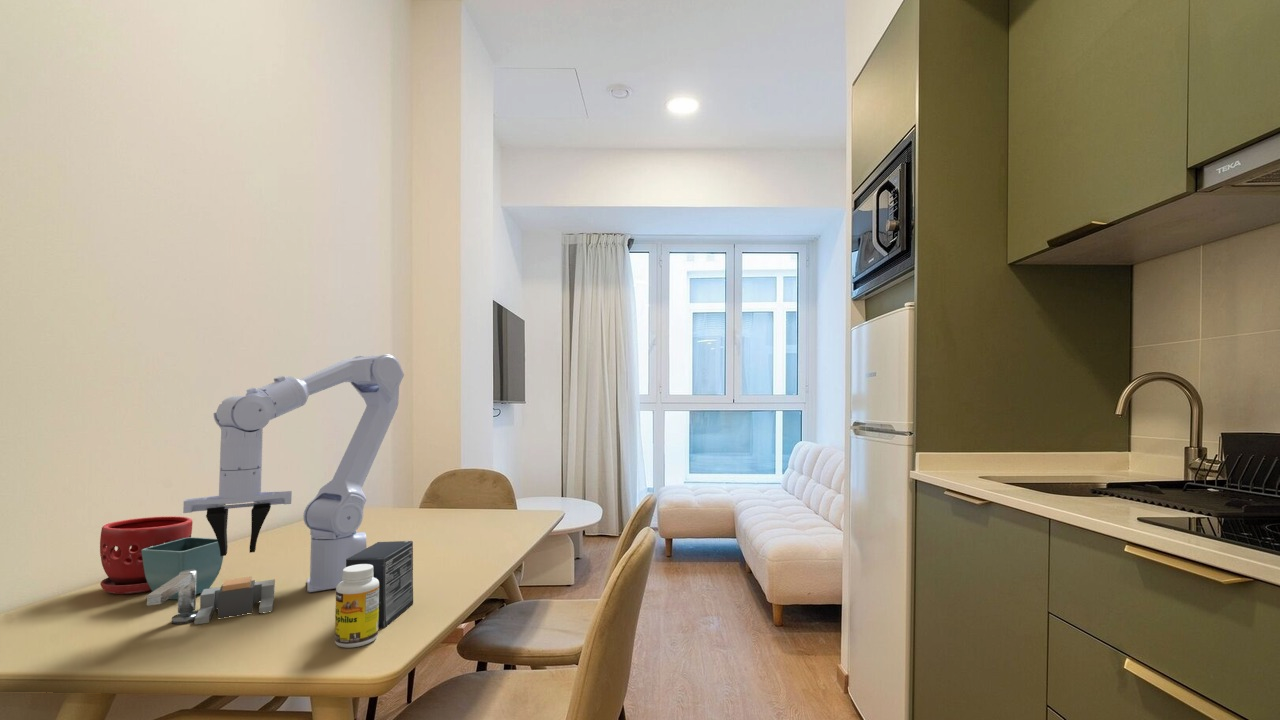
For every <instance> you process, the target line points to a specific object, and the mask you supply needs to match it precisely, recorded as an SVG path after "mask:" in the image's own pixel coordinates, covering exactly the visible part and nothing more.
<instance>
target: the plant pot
mask: <svg viewBox="0 0 1280 720" xmlns="http://www.w3.org/2000/svg"><path fill="white" fill-rule="evenodd" d="M192 533H193V519H192V518H189V517H186V516H153V517H151V516H150V517H141V518H130V519H124V520H123V519H122V520H118V521H113V522H108V523H106V524H104V525H102V527H101V530H100V536H99V537H100V538H99V555H100V561H101V566H102V569H103V571H104V573H105V574H106V576H107V577H106V578H104V579H102V580H101V581H100V583H99V584H100V587H101V588H102V590H104V592H107V593H110V594H117V595H129V594H139V593H145V592H146V593H147V592H152V590H151V588H150V587H149V585H148V583H147V580H146V577H145V572H144V566H143V558H142V551H141V550H142V549H145V548H149V547H153V546H157V545H160V544H164V543H168V542H172V541H176V540H179V539H183V538H188V537H192ZM116 547H117V550H116V549H115V548H116Z"/></svg>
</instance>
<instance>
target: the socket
mask: <svg viewBox="0 0 1280 720" xmlns="http://www.w3.org/2000/svg"><path fill="white" fill-rule="evenodd" d="M275 581H276V579H266V580H260V581H255V591H254V602H259V601H261V602H260V603H259V606H258V614H259V613H263V612H269V611H272V612H273V608H274V602H275V588H276V587H275V585H276V584H275V583H276V582H275ZM220 588H221V586H217V587H210V588H209V589H204V590H203V592H202V593H200V597H199V599H200V601H199V603H200V604H199V605H200V606H199V610H197V611H198V613H197V615H196V617H195V621H194V626H196V625H202V624H208V622H209V623H210V621H211V618H212V616H213V614H214V612H213V611H215V610H218V609H217V608H218V594H219V590H220ZM273 601H274V602H273ZM214 609H215V610H214Z"/></svg>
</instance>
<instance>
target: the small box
mask: <svg viewBox="0 0 1280 720" xmlns="http://www.w3.org/2000/svg"><path fill="white" fill-rule="evenodd" d="M413 544H414V543H413V540H402V541H401V540H399V541H396V540H394V541H378V542H375V543H374V544H371V545H370V546H367V548H366V549H364V550H362V551H361V552H359V553H357V554H355V555H353V556H351V557H349V558H347V559H346V567H348V566H352V565H357V564H370V565H373V573H374V574H373V577H374V578H376V579H378V581H379V618H378V619H379V620H378V629H385V628H386V627H387V626H389V625H390V624H391V623H392V622H394V621H395V620H396V619H398V618H399V616H401V613H402V614H403V613H404V612H405V611H407V609H408V608H410V607H411V606H413V604H414V586H413V585H414V575H413V574H414V571H413V570H414V563H413V562H414V557H413V556H414V554H413V553H414V548H413V547H414V545H413ZM394 619H395V620H394Z"/></svg>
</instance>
